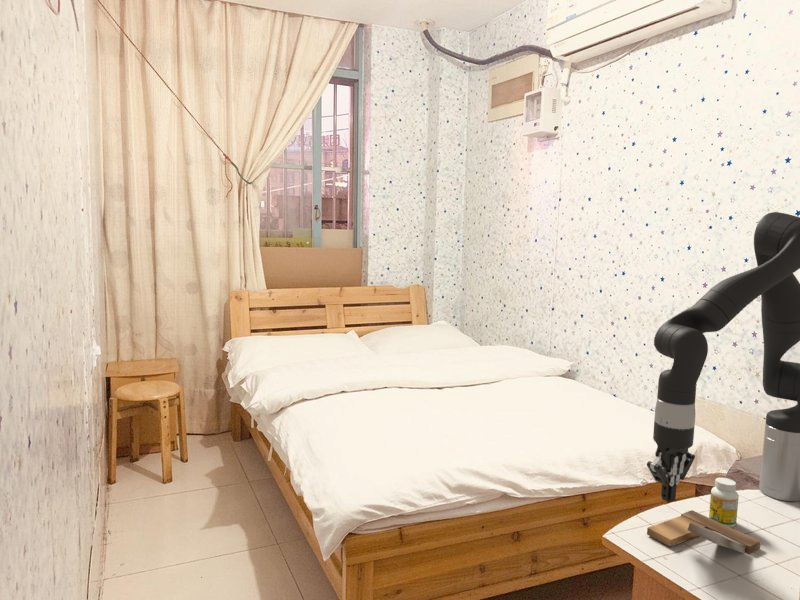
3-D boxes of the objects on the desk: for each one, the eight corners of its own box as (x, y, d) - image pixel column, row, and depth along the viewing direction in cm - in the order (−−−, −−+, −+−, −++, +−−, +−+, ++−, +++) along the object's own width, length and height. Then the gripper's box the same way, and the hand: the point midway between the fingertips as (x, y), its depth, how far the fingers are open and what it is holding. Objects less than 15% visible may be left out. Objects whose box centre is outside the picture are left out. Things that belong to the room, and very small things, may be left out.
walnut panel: (691, 516, 132) (692, 510, 131) (759, 548, 119) (760, 541, 119) (680, 520, 130) (681, 514, 129) (748, 553, 117) (749, 546, 117)
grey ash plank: (717, 540, 121) (719, 533, 122) (743, 552, 117) (746, 545, 117) (687, 530, 115) (689, 522, 115) (714, 543, 111) (716, 535, 111)
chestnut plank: (681, 521, 129) (682, 515, 129) (705, 533, 124) (706, 526, 124) (646, 534, 123) (647, 527, 123) (670, 546, 118) (670, 539, 118)
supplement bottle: (740, 529, 126) (744, 487, 125) (713, 527, 127) (717, 485, 126) (729, 517, 132) (733, 477, 131) (704, 515, 132) (708, 475, 131)
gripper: (670, 432, 113) (663, 516, 115) (711, 421, 119) (704, 500, 122) (637, 420, 119) (632, 500, 122) (678, 410, 126) (672, 486, 128)
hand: (668, 500), depth 122 cm, fingers closed
